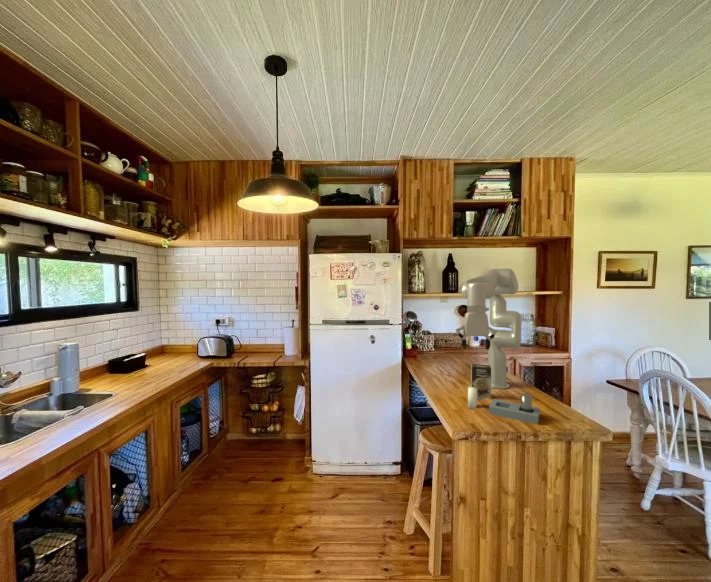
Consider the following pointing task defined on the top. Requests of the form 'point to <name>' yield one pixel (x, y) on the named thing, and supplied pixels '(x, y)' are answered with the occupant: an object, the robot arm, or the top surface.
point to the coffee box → (481, 380)
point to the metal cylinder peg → (526, 403)
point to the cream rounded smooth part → (472, 397)
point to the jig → (514, 411)
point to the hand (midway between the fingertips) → (475, 348)
